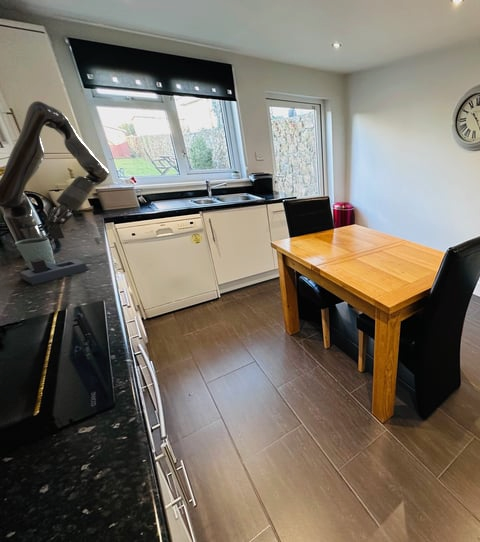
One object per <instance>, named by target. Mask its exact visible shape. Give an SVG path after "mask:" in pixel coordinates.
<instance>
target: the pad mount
mask: <svg viewBox="0 0 480 542" xmlns="http://www.w3.org/2000/svg"><path fill="white" fill-rule="evenodd" d="M47 268H48V271H44V272H40V273H36V272H35V270H34V269H30V268H29V269H27V270H21V271H19V274H20V276H21V277H22V278H21V279H23V280H24V281H25V282H27V283H28V284H31V285H32V286H34V285H39V284H42V283H47V282H49V281H54V280H57V279H61V278H64V277H68V276H71V275H76V274H78V273H79V274H80V273H83V272H86V271H88V270H89V268H88V266H87V263H86V262H84V261H82V260H78V259H76V258H73V259H69V260H65V261H60V262H55V264H51V265H47Z"/></svg>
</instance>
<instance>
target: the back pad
mask: <svg viewBox="0 0 480 542" xmlns="http://www.w3.org/2000/svg"><path fill="white" fill-rule="evenodd" d="M53 221H54V219H50V220H48V219H44V220H43V222H44V225H45V224H46V227H47V229H48V227H49V226H50V225H51V224H52V222H53ZM53 223H54V222H53ZM61 228H62V227H61V225H59V227H58V228H57V229H56V230H55V232H51V231H49V230H47V231H48V233H50V234H49V237H51V238H53V239H54V240H61V239H65V235H64V233H63V231H62V229H61ZM51 238H50V239H51Z"/></svg>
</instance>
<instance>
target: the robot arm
mask: <svg viewBox="0 0 480 542" xmlns="http://www.w3.org/2000/svg"><path fill="white" fill-rule="evenodd" d="M44 127H48V128H50V129H53V130H54V131H55V132H57V133H58V134H59V135H60V136H61V137H62V138H63V139H62V140H63V144H64V145H63V146H64V147H65V148H66V150H67V151H68V152H69V154H70V155H72V157H73V159H75V160H76V161H77V162H78V164H79V166H80V167H81V169H83V171H85V172H86V173H87V174H86V175H85V176H82V175H77V176H76V177H75V178H74V179H73V180H72V182H71V183H70V184H69V185H68V186H67V187H66V188H65V189H64V190H63V192H62V193H61V194H60V195H59V196H58V197H57V199H56V201H55V202H56V203H57V204H59V205H58V206H56V207H52V208H51V210H50V212H49V213H48V215H47V216H46V220H50V219H54V221H53V222H54V223H53V222H52V224H51V225H50V226H49V227H48V229H47V227H46V224H45V223H44V225H43V226H42V229H44V230H46V231H48V230H49V231H51V232H55V230H56V229H57V228H58V227H59V226H62V225H65V224H66V223H67V222H68V221H69V220H70V219H71V218H72V217H73V216H74V213H72V211H75V212H78V211H79V210H80V209H81V208H82V207H83V205H84V204H85V203H86V201H87V200H88V198H89V197H90V195H91V193H92V192H93V191H94V190H95V188H97V187H98V186H100V185H101V184H103V183H104V182H105V181H106V180H107V179H108V178H109V175H110V173H109V170H108V168H106V166H104V165H103V164H102V162H100V161H99V160H98V158H97V157H95V155H94V153H93V152H92V151H91V150H90V149H89V147H88V146H87V145H86V144H85V143H84V141H82V139H81V138H80V137H79V135H78V134H77V133H76V130H75V129H74V127H73V126H72V124H71V123H70V120H69V119H68V118H67V116H66V115H65V114H64V113H63V112H62V111H61V110H59V109H57V108H55V107H54V106H52V105H49V104H48V103H45V102H43V101H39V100H36V101H35V100H34V101H33V102H31V103H30V104H29V106H28V107H27V110H26V113H25V117H24V121H23V124H22V127H21V129H20V132H19V135H18V138H17V140H16V141H15V144H14V145H13V148H12V150H11V152H10V154H9V157H8V159H7V161H6V163H5V164H6V165H5V168H4V171H3V174H2V176H1V178H0V207H1V208H2V211H3V219H4V221H5V223H6V225H7V228H8V229H9V231H10V234H11V236H12V237H13V239H14V241H15V243H16V242H18V241H21V240H26V239H33V238H48V239H51V241H49V242H50V245H51V244H52V243H54V241H55V239H53V238H51V236H50V233H49V231H48V232H47V233H46V234H45V235H44V237H43V235H42V233H41V230H40V228H39V226H38V224H37V221H36V219H35V216H34V211H33V209H32V205H31V203H30V201H29V199H28V197H27V194H26V193H25V189H26V187H27V185H28V183H29V181H31V179H33V177H34V176H35V174H36V173H37V171H38V170H39V168H40V167H41V165H42V163H43V161H44V159H45V149H44V146H43V143H42V139H41V135H42V132H43V128H44ZM16 249H17V251H19V249H18V248H17V247H16Z"/></svg>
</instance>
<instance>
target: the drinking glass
mask: <svg viewBox="0 0 480 542" xmlns="http://www.w3.org/2000/svg"><path fill="white" fill-rule="evenodd" d="M50 242H51V241H50V238H47V237H43V238H33V239H26V240H21V241H18V242H16V241H15V242H14V245H15V246H16V249H17V248H18V249H19V250H18V249H17V250H18V252H19V253H20V255H21V256H22V259H23V260H24V261H25V264H26V265H27V267H28V269H29V270H30V269H34V268H33V266H32V264H31V262H30V260H34V259H39V258H40V259H43V260H44V261H45V263H46V266H47V265H51V264H55V263H56V260H55V256H54V253H53V249H52V246H51V244H50Z"/></svg>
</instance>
